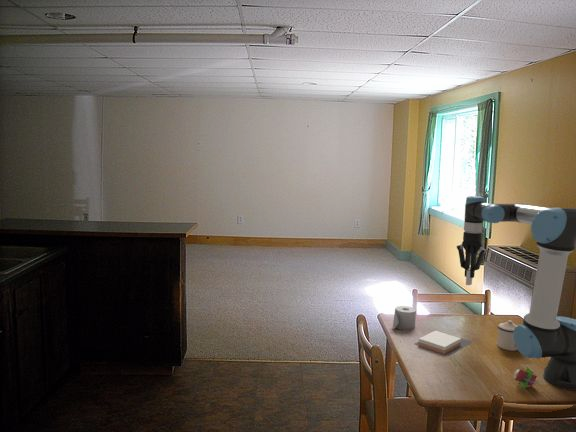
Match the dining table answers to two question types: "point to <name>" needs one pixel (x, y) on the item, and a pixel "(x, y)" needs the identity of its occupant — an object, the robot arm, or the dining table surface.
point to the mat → (463, 344)
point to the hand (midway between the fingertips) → (468, 284)
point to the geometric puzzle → (525, 377)
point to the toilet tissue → (404, 317)
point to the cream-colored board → (439, 342)
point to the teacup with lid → (506, 336)
